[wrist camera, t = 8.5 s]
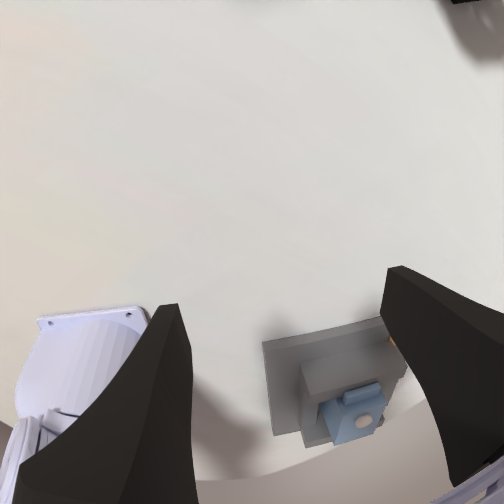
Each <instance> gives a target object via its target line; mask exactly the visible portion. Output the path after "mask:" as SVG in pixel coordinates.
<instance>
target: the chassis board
mask: <svg viewBox="0 0 504 504" xmlns="http://www.w3.org/2000/svg"><path fill="white" fill-rule="evenodd" d="M262 345H263V354H264V362H265V371H266V380H267V389H268V397H269V406H270V415H271V423H272V431H273V435H274V436H277V435H282V434H287V433H292V432H297V431H301V434H302V438H303V441H304V445H305V448H309V447H313V446H317V445H321V444H325V443H329V442H332V438H331V435H330V432H329V430H328V427H327V424H326V421H325V418H324V415H323V413H322V410H321V407H320V403H321V402H325V401H328V400H332V399H336V398H340V397H343V396H344V392H347V391H351V390H354V389H358V388H361V387H364V386H368V385H371V384H374V383H377V382H378V383H379V385H380V386H381V390H382V392H383V394H384V396H385V398H386V400H387V404H386V406H387V405H388V403H389V400H390V398H391V396H392V393H393V391H394V388H395V386H396V383H397V381H398V379H400V378H402V377H404V374H405V372H406V369H407V365H406V363H405V359H404V357H403V356H402V354H401V352H400V351H399V349H398V348H397V346H396V344H395V343H394V341H393V340H392V338H391V336H390V334H389V332H388V330H387V328H386V326H385V324H384V322H383V319H382V317H381V316H380V317H376V318H372V319H369V320H365V321H361V322H357V323H353V324H348V325H344V326H340V327H336V328H331V329H327V330H322V331H318V332H313V333H308V334H304V335H299V336H294V337H289V338H283V339H278V340H273V341H267V342H262ZM384 420H385V419H384V417H383V415H381V418H380V420H379V422H378V424H377V426H376V428H377V427H380V426H382V424H383V422H384Z"/></svg>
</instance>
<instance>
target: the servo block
mask: <svg viewBox="0 0 504 504" xmlns="http://www.w3.org/2000/svg"><path fill="white" fill-rule="evenodd" d="M386 404H387V400H386V398H385V396H384V394H383V392H382V390H381V386H380V385H379V383H378V382H377V383H374V384H371V385H368V386H364V387H361V388H358V389H354V390H351V391H347V392H344V396H343V397H340V398H336V399H332V400H328V401H325V402H321V403H320V407H321V410H322V413H323V415H324V418H325V421H326V424H327V427H328V430H329V432H330V435H331V438H332V441H333V444H334V446H335V445H339V444H342V443H346V442H349V441H352V440H355V439H358V438H361V437H365V436H367V435H370V434H373V433H374V431H375V428H376V426H377V424H378V422H379V420H380V418H381V415H382V413H383V411H384V409H385V406H386Z"/></svg>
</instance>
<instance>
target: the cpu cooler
mask: <svg viewBox="0 0 504 504" xmlns="http://www.w3.org/2000/svg"><path fill="white" fill-rule="evenodd" d="M451 1H452V3H453V4H458V3H464V2H471V1H479V0H451Z"/></svg>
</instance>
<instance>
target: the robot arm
mask: <svg viewBox="0 0 504 504" xmlns="http://www.w3.org/2000/svg"><path fill="white" fill-rule="evenodd" d="M128 313H131V314H132V315H129V314H128ZM380 315H381V317H382V319H383V322H384V324H385V326H386V328H387V330H388V332H389V334H390V336H391V338H392V340H393V341H394V343H395V344H396V346H397V348H398V349H399V351H400V352H401V354H402V356H403V357H404V359H405V360H406V362H407V363H408V365H409V367H410V368H411V370H412V372H413V373H414V375H415V376H416V378H417V380H418V382H419V383H420V385H421V387H422V389H423V391H424V394H425V396H426V398H427V401H428V403H429V405H430V408H431V410H432V413H433V415H434V418H435V421H436V424H437V427H438V430H439V433H440V436H441V440H442V443H443V447H444V451H445V456H446V460H447V465H448V471H449V478H450V481H451V483H452V485H453V487H456V486H458V485H460V484H461V483H463V482H464V481H466V480H468V479H469V478H471V477H472V476H474V475H475V474H477V473H478V472H480V471H481V470H483V469H484V468H486V467H487V466H489V465H490V466H489V467H487V468H486V469H484V470H483V471H481V472H480V473H478V474H477V475H476V476H474V477H472V478H471V479H469V480H468V481H466V482H465V483H463V484H461V485H460V486H458V487H456V488H455V489H453V490H451V491H450V492H448V493H447V494H444V495H443V496H441V497H439V498H437V499H435V500H433V501H431V502H429V503H427V504H464V503H466V502H467V501H469V500H470V499H472V498H473V497H475V496H476V495H478V494H479V493H480V492H482V491H484V490H485V489H486V488H487V492H486V495H485V497H483V498H482V499H480V500H479V501H477V502H475V503H474V504H504V313H501V312H498V311H496V310H493V309H491V308H488V307H486V306H483V305H481V304H479V303H477V302H475V301H473V300H470V299H468V298H466V297H464V296H462V295H460V294H458V293H456V292H454V291H452V290H450V289H448V288H446V287H445V286H443V285H441V284H439V283H437V282H435V281H433V280H431V279H429V278H427V277H426V276H424V275H422V274H420V273H418V272H416V271H414V270H411V269H409V268H407V267H404V266H397V267H392V268H388V270H387V276H386V282H385V288H384V293H383V299H382V304H381V309H380ZM52 322H53V323H52ZM37 325H38V326H39V328H40V330H41V331H40V333H39V335H38V337H37V339H36V341H35V343H34V345H33V347H32V349H31V351H30V353H29V355H28V357H27V360H26V362H25V364H24V366H23V369H22V371H21V373H20V375H19V378H18V380H17V384H16V389H15V405H16V411H17V414H18V417H19V420H18V421H17V423H16V425H15V427H14V429H13V431H12V434H11V436H10V439H9V442H8V445H7V448H6V451H5V455H4V458H3V462H2V465H1V470H0V504H199V503H198V497H197V490H196V483H195V476H194V468H193V458H192V448H191V410H192V387H193V366H192V352H191V345H190V342H189V339H188V336H187V333H186V329H185V326H184V323H183V320H182V316H181V313H180V309H179V306H178V303H176V304H168V305H160V306H159V307H158V308H157V310H156V312H155V313H154V315H153V317H152V318H151V320H150V322H149V324H148V322H147V319H146V317H145V314H144V312H143V310H142V308H140V307H138V306H131V307H123V308H115V309H107V310H98V311H89V312H81V313H72V314H62V315H52V316H42V317H39V318H38V319H37Z"/></svg>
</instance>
